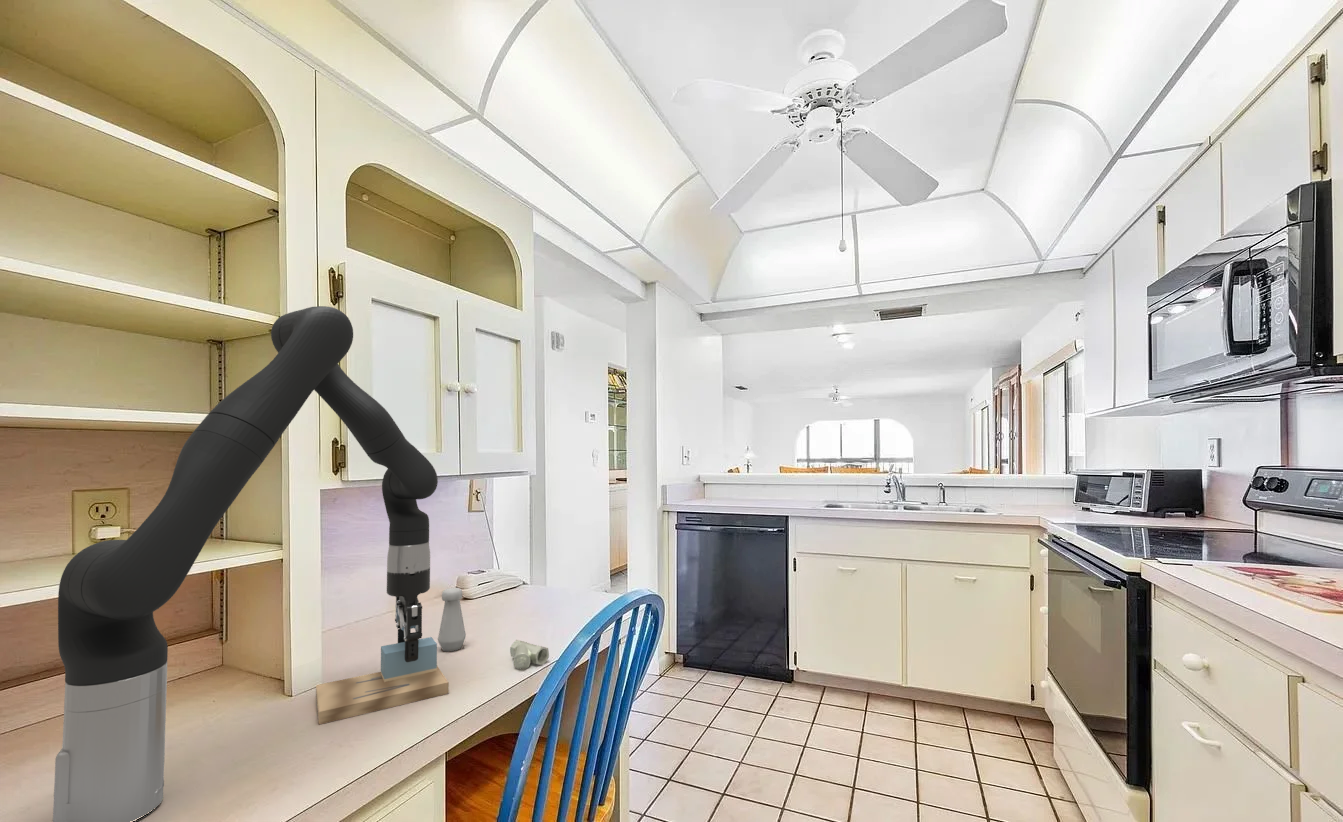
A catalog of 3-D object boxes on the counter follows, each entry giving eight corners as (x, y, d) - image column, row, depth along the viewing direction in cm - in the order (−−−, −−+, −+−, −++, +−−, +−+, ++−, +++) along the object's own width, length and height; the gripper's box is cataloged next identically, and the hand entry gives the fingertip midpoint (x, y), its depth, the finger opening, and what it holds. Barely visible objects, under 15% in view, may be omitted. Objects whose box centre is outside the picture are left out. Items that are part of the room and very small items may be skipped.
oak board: (318, 724, 93) (319, 711, 94) (316, 696, 104) (316, 684, 104) (448, 693, 104) (448, 682, 105) (433, 670, 115) (433, 660, 115)
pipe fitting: (523, 675, 114) (549, 662, 119) (522, 656, 114) (548, 643, 119) (497, 667, 118) (523, 654, 124) (496, 648, 118) (522, 636, 124)
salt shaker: (456, 653, 125) (456, 592, 126) (432, 652, 126) (432, 591, 127) (470, 644, 130) (470, 586, 131) (447, 643, 132) (447, 585, 132)
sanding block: (384, 682, 105) (384, 653, 105) (380, 673, 109) (381, 646, 110) (436, 670, 110) (436, 643, 110) (431, 662, 114) (431, 636, 115)
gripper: (382, 563, 114) (380, 647, 113) (392, 576, 103) (391, 670, 101) (422, 559, 119) (421, 640, 117) (437, 570, 107) (436, 661, 105)
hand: (407, 654), depth 109 cm, fingers open, 8 cm apart
